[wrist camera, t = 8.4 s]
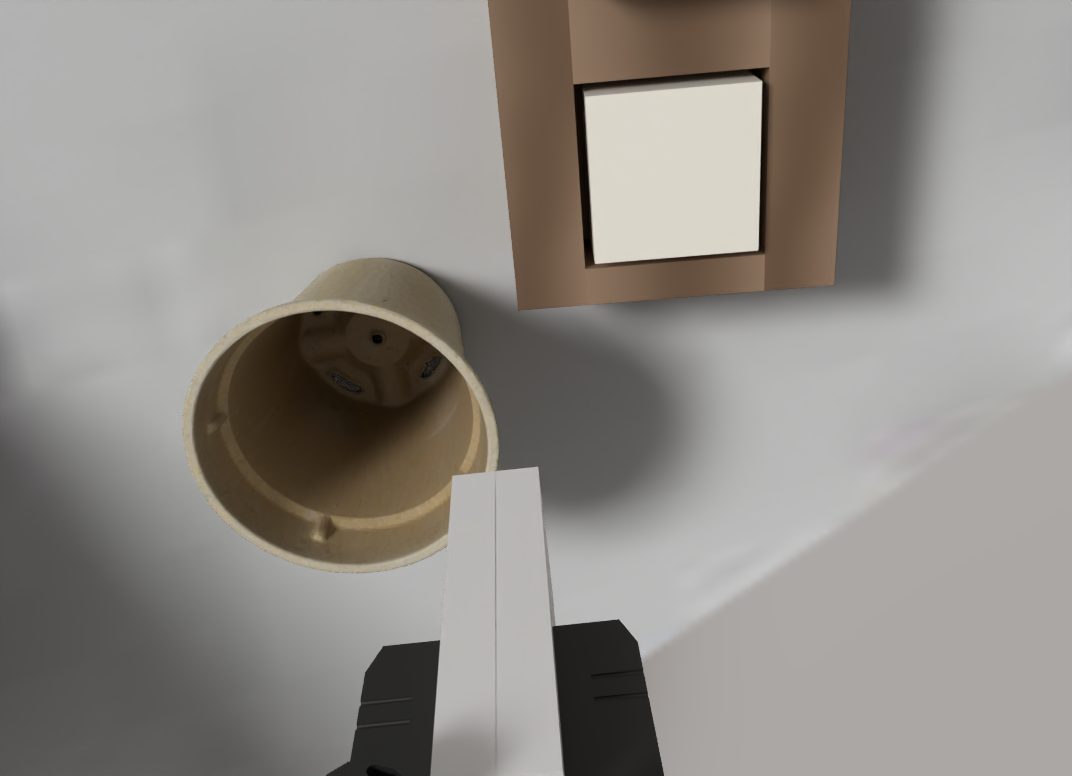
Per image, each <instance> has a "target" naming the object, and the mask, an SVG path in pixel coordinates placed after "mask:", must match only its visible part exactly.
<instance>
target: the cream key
mask: <svg viewBox="0 0 1072 776" xmlns="http://www.w3.org/2000/svg"><path fill="white" fill-rule="evenodd" d="M581 92H582V109H583V125H584V142H585V158H586V175H587V192H588V208H589V225H590V239H591V245H592V250H593V256H594V261H595V264H600V263H612V262H624V261H637V260H649V259H661V258H673V257H685V256H698V255H710V254H722V253H734V252H746V251H758V247H759V202H760V157H761V112H762V81H761V80H760V79H759V78H757V77H756V76H754V75H753V74H752V73H750V72H749V71H748V70H746V69H741V70H730V71H719V72H707V73H696V74H685V75H673V76H662V77H651V78H639V79H628V80H616V81H605V82H594V83H582V84H581Z"/></svg>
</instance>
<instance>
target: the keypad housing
mask: <svg viewBox="0 0 1072 776" xmlns="http://www.w3.org/2000/svg"><path fill="white" fill-rule="evenodd" d="M488 7H489V17H490V27H491V38H492V48H493V58H494V68H495V78H496V88H497V98H498V108H499V118H500V128H501V138H502V148H503V158H504V169H505V179H506V189H507V199H508V209H509V219H510V229H511V239H512V249H513V259H514V269H515V279H516V289H517V299H518V310H531V309H544V308H556V307H568V306H581V305H593V304H606V303H618V302H631V301H643V300H655V299H668V298H680V297H693V296H705V295H717V294H730V293H742V292H755V291H767V290H780V289H792V288H804V287H817V286H829V285H834V278H835V262H836V245H837V229H838V212H839V196H840V179H841V163H842V146H843V130H844V113H845V97H846V80H847V64H848V47H849V31H850V14H851V0H488ZM741 69H746V70H748V71H749V72H750V73H752V74H753V75H754V76H756V77H757V78H759V79H760V80H761V81H762V112H761V157H760V202H759V247H758V251H746V252H734V253H722V254H710V255H698V256H685V257H673V258H661V259H649V260H637V261H624V262H612V263H600V264H595V261H594V256H593V250H592V245H591V239H590V225H589V208H588V192H587V175H586V158H585V142H584V125H583V109H582V92H581V84H582V83H594V82H605V81H616V80H628V79H639V78H651V77H662V76H673V75H685V74H696V73H707V72H719V71H730V70H741Z"/></svg>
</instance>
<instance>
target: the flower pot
mask: <svg viewBox="0 0 1072 776" xmlns="http://www.w3.org/2000/svg"><path fill="white" fill-rule="evenodd" d="M314 311H323V312H322V313H321V314H320V315H316V314H314ZM372 335H381V336H382V338H383V340H382V342H381V343H374V342H373V341H372ZM434 357H440V358H441V359H440V361H439V363H438V365H437V366H436V368H435V369H434V371H433V372H432V373H431V374H430V375H429V376H427V377H421V374H422V373H423V371H424V370H425V368H426V364H425V363H426V362H427V363H429V362H430V361H431V360H432V359H433V358H434ZM334 373H336V374H338V375H339V376H341V377H342V378H344V379H346V380H348V381H349V382H351V383H352V384H354V385H356V386H360V387H361V388H362V390H361V392H356V391H349V390H347V389H345V388H344V387H342V386H340V385H339V384H337V383H336V382H335V380H334V379H333V376H332V375H333V374H334ZM183 437H184V444H185V451H186V455H187V460H188V464H189V467H190V468H191V472H192V474H193V476H194V478H195V480H196V482H197V484H198V487H199V488H200V490H201V492H202V493H203V495H204V496H205V498H206V499H207V501H208V502H209V504H210V506H211V508H212V509H214V510H215V512H216V513H217V514H218V515H219V516H220V517H221V518H222V519H223V520H224V521H225V522H226V523H227V524H228V525H229V526H230V527H231V528H232V529H234V530H235V531H236V532H237V533H238V534H240V535H241V536H242V537H243V538H245V539H247V540H248V541H250V542H252V543H253V544H255V545H256V546H258V547H260V549H263V550H264V551H266V552H269V553H271V554H273V555H275V556H278V557H281V558H283V559H285V560H288V561H290V562H293V563H296V564H299V565H302V566H306V567H310V568H314V569H319V570H324V571H330V572H337V573H338V572H341V573H369V572H379V571H386V570H390V569H394V568H398V567H404V566H407V565H410V564H414V563H415V562H418V561H420V560H423V559H425V558H427V557H429V556H432V555H434V554H435V553H436V552H438V551H440V550H442V549H443V548H445V547H447V543H448V529H449V516H450V502H451V488H452V476H454V475H464V474H473V473H483V472H492V471H497V468H498V460H499V435H498V426H497V422H496V417H495V413H494V410H493V407H492V404H491V401H490V399H489V396H488V394H487V392H486V390H485V388H484V386H483V384H482V383H481V381H480V379H479V378H478V376H477V374H476V373H475V371H474V370H473V369H472V367H471V366H470V365H469V363H468V362H467V361H466V360H465V355H464V350H463V345H462V339H461V328H460V324H459V320H458V317H457V315H456V312H455V310H454V307H453V305H452V303H451V301H450V300H449V298H448V297H447V295H446V294H445V293H444V291H443V290H442V289H441V288H440V287H439V286H438V285H437V284H436V283H435V282H434V281H433V280H432V279H431V278H430V277H428V276H427V275H426V274H424V273H423V272H421V271H419V270H418V269H416V268H414V267H412V266H410V265H407V264H405V263H402V262H399V261H396V260H392V259H386V258H368V259H358V260H352V261H348V262H344V263H341V264H338V265H336V266H334V267H332V268H330V269H328V270H327V271H325V272H324V273H322V274H321V275H320V276H319V277H317V278H316V279H315V280H314V281H313V282H312V283H311V285H310V286H309V287H308V288H307V289H305V290H304V291H303V292H302V293H301V294H300V295H299V296H298V297H297V298H296V299H294V300H293V301H292V302H289V303H285V304H282V305H278V306H276V307H273V308H270V309H267V310H265V311H263V312H261V313H259V314H257V315H255V316H253V317H251V318H249V319H247V320H246V321H244V322H242V323H241V324H239V325H237V326H236V327H235V328H234V329H232V330H231V331H230V332H229V333H227V334H226V335H225V336H224V337H223V338H222V339H221V340H220V341H219V342H218V343H217V344H216V345H215V346H214V347H213V348H212V350H211V351H210V352H209V353H208V355H207V356H206V357H205V359H204V360H203V362H202V363H201V365H200V366H199V368H198V370H197V372H196V374H195V376H194V378H193V380H192V382H191V385H190V387H189V390H188V393H187V396H186V400H185V406H184V412H183Z"/></svg>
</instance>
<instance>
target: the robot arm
mask: <svg viewBox="0 0 1072 776" xmlns="http://www.w3.org/2000/svg"><path fill="white" fill-rule="evenodd" d="M326 776H664V773H663V767H662V762H661V757H660V752H659V747H658V742H657V737H656V732H655V727H654V722H653V717H652V713H651V707H650V702H649V698H648V692H647V687H646V682H645V677H644V673H643V667H642V662H641V657H640V652H639V646H638V642H637V641H636V639H635V638H634V637H633V636H632V635H631V633H630V632H629V631H628V630H627V629H626V627H625V626H624V625H623V624H622V623H621V621H620V620H610V621H600V622H590V623H581V624H571V625H562V626H555V616H554V604H553V593H552V584H551V575H550V566H549V557H548V548H547V540H546V531H545V522H544V513H543V505H542V496H541V487H540V478H539V469H538V467H530V468H521V469H511V470H502V471H492V472H483V473H473V474H464V475H454V476H452V488H451V502H450V516H449V529H448V543H447V556H446V570H445V583H444V597H443V611H442V624H441V638H440V640H439V641H429V642H420V643H410V644H400V645H391V646H383V648H382V649H381V651H380V652H379V653H378V655H377V656H376V658H375V659H374V661H373V662H372V664H371V665H370V667H369V668H368V669H367V671H366V672H365V678H364V684H363V689H362V695H361V706H360V707H359V713H358V719H357V730H356V731H355V737H354V742H353V748H352V754H351V760H350V762H347V763H346V764H344V765H342V766H340V767H339V768H337V769H335V770H334V771H332V772H330V773H329V774H327V775H326Z"/></svg>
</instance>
